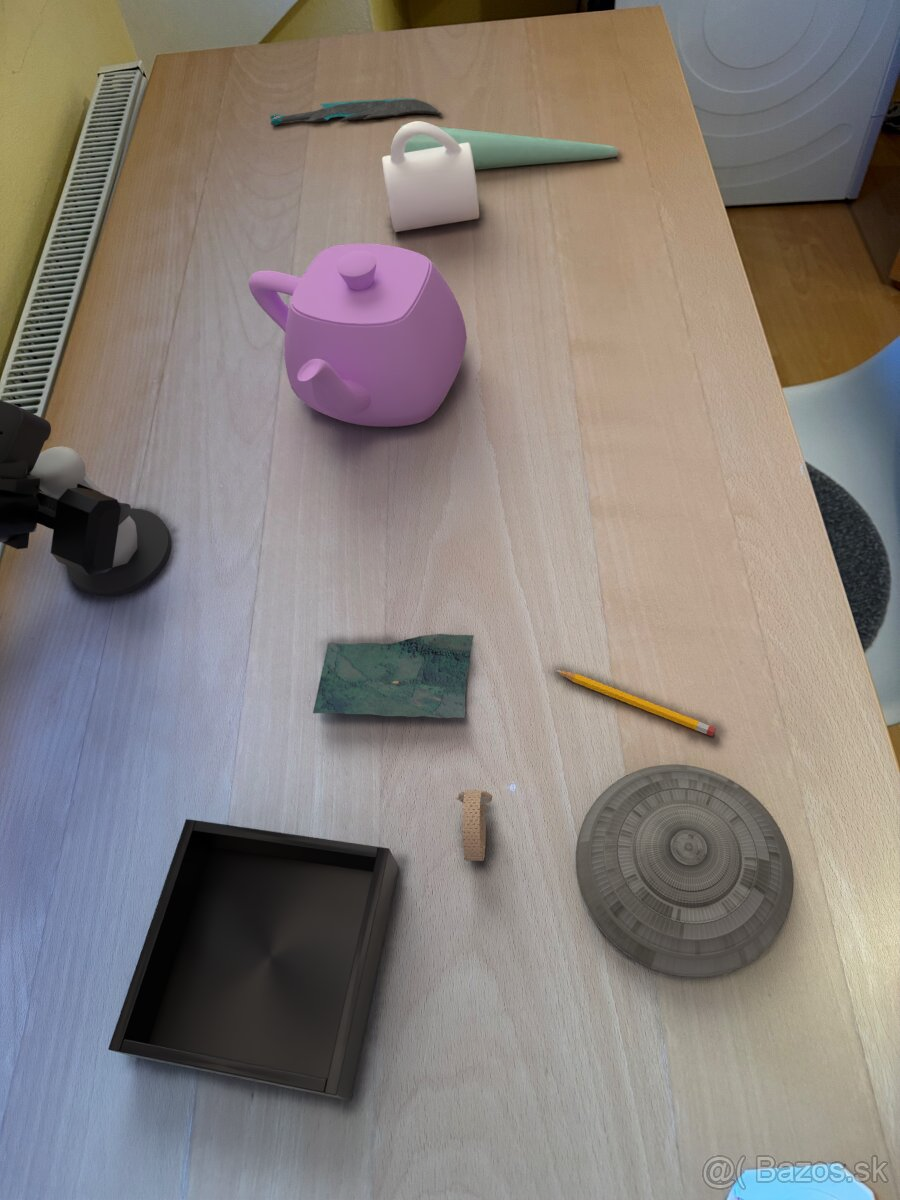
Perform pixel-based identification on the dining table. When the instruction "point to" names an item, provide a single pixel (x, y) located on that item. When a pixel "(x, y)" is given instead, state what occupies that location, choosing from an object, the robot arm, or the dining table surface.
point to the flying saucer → (684, 870)
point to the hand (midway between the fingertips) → (98, 498)
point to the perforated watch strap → (474, 823)
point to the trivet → (131, 560)
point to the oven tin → (261, 958)
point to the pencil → (639, 703)
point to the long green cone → (514, 148)
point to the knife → (361, 110)
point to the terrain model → (397, 677)
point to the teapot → (367, 333)
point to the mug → (429, 180)
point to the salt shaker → (67, 471)
